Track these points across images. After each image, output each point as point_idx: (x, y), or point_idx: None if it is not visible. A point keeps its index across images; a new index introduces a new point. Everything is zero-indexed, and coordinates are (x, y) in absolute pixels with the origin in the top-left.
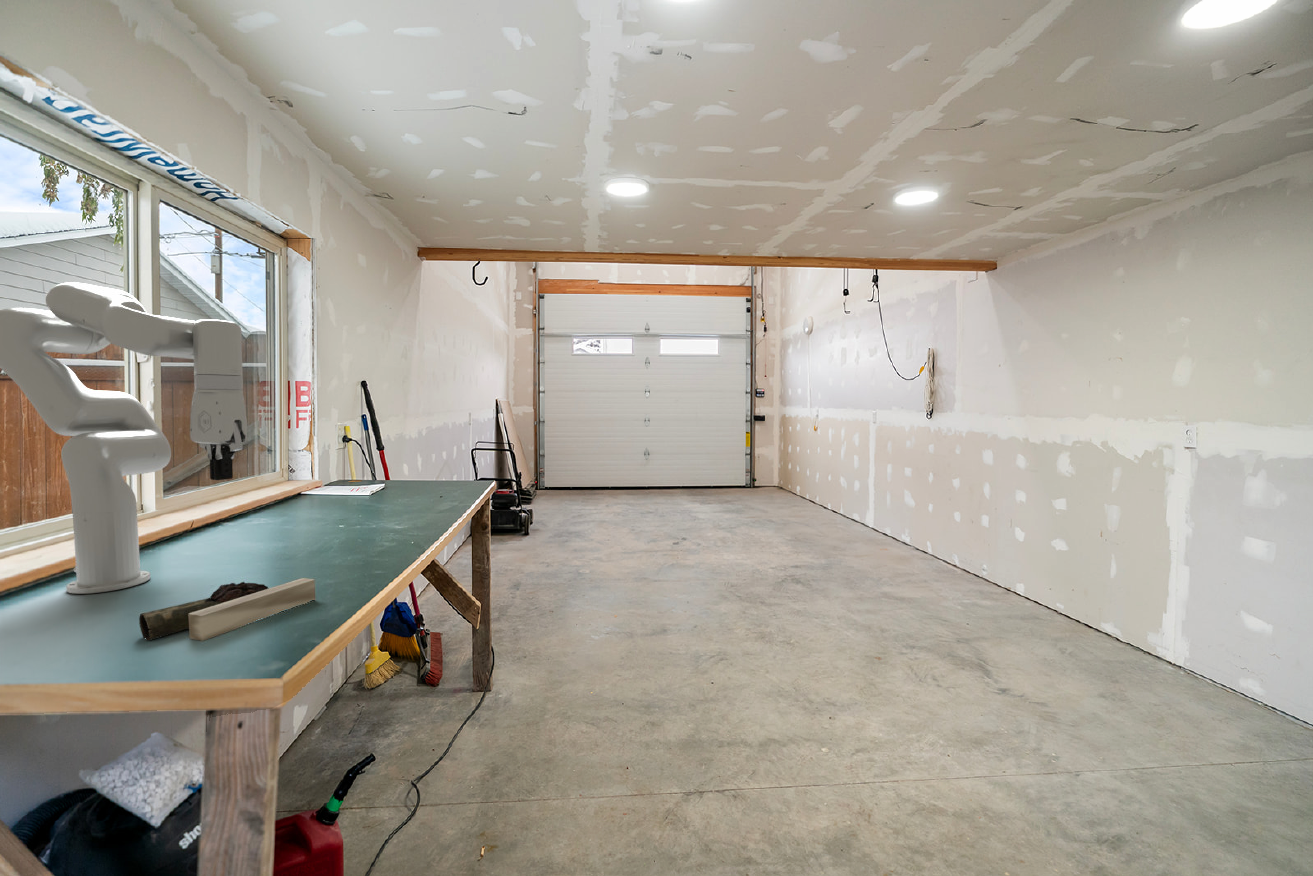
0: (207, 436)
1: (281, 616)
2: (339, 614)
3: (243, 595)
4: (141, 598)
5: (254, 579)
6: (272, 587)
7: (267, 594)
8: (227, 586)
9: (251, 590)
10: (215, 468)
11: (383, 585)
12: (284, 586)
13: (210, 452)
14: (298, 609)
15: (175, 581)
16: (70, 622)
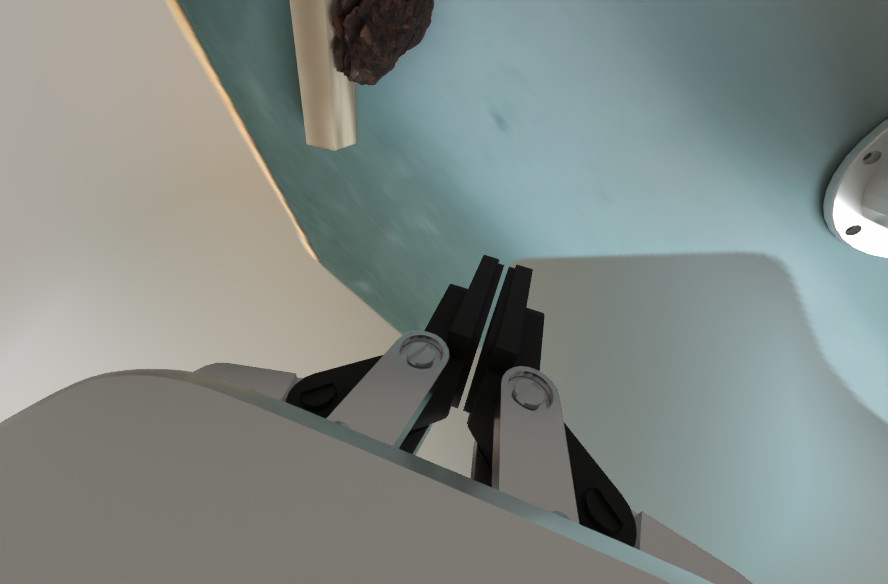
0: (318, 580)
1: None
2: (236, 73)
3: (339, 1)
4: (734, 76)
5: (539, 241)
6: (328, 71)
7: (292, 17)
8: (377, 2)
9: (334, 23)
10: (469, 292)
11: (302, 224)
12: (314, 84)
13: (513, 416)
14: None
15: (730, 217)
16: None
